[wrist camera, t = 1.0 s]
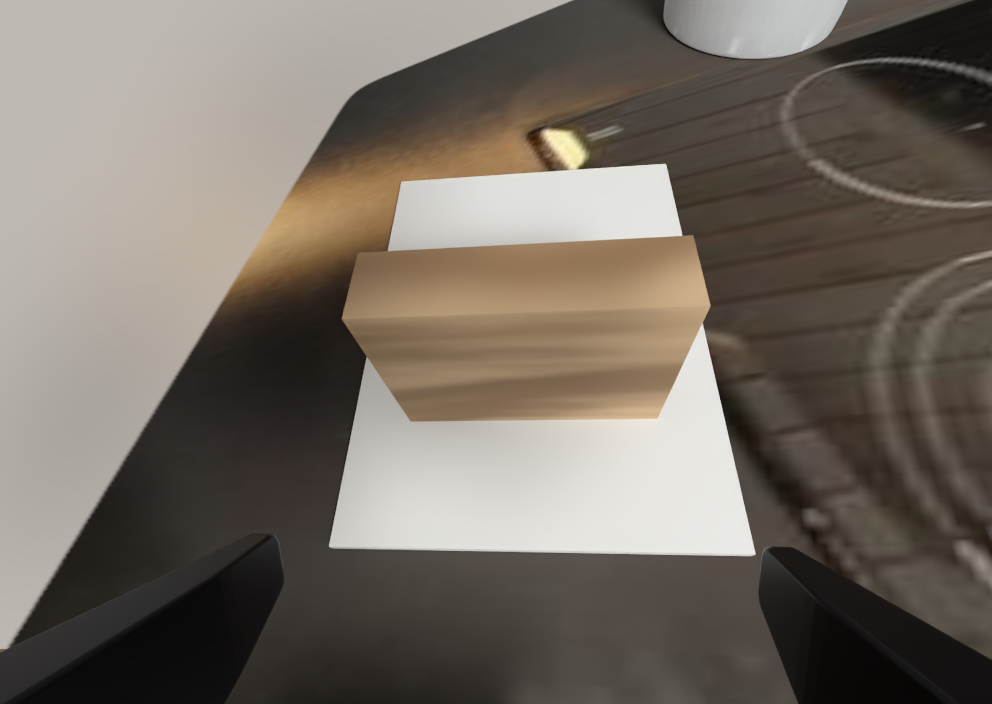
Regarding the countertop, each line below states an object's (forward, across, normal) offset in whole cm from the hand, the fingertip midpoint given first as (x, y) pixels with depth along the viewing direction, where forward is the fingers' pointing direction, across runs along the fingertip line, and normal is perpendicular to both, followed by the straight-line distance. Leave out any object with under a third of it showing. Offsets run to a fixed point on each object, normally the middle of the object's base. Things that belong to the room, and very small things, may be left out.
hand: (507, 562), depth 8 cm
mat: (+19, 0, -1) cm, 19 cm away
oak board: (+16, 0, +2) cm, 16 cm away
